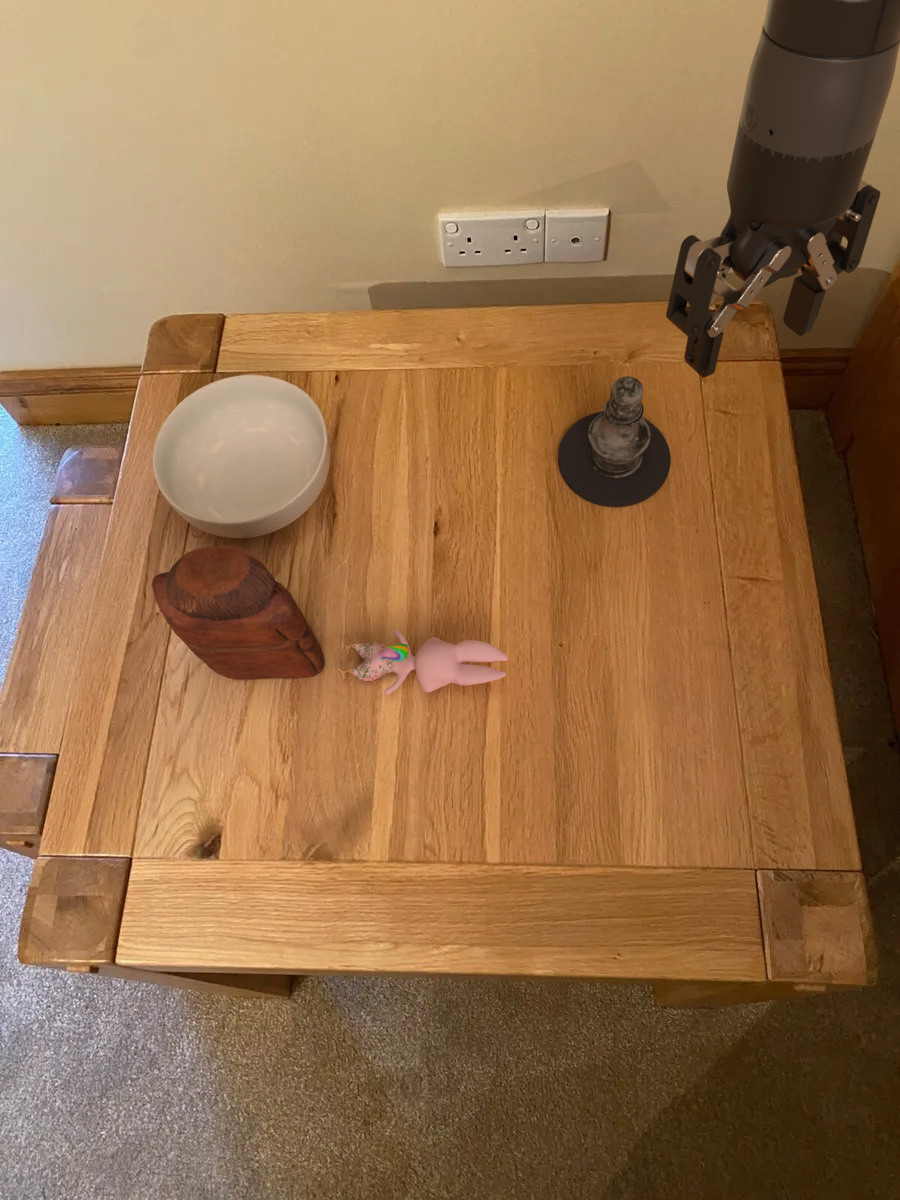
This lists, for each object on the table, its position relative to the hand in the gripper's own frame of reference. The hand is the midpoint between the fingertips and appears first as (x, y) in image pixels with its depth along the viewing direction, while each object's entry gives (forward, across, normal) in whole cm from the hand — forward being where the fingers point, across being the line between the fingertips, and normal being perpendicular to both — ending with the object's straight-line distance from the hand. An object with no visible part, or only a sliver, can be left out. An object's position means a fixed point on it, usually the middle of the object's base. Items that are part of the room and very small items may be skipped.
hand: (748, 348), depth 63 cm
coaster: (+22, -1, +13) cm, 26 cm away
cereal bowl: (+22, -33, +29) cm, 49 cm away
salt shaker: (+22, 0, +13) cm, 25 cm away
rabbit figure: (+26, -27, +3) cm, 38 cm away
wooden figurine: (+26, -39, +12) cm, 48 cm away
